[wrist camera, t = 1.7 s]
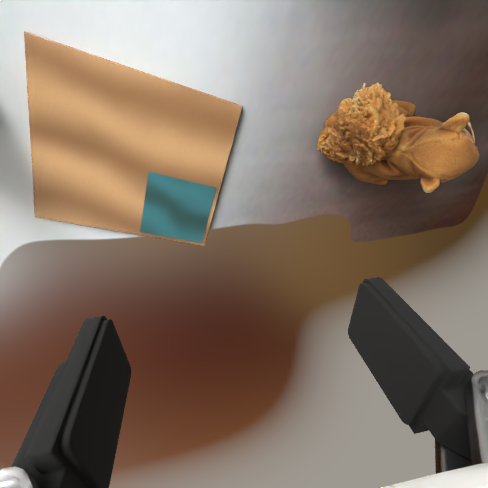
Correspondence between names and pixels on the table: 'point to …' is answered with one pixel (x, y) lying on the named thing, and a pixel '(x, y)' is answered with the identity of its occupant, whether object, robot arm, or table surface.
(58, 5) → the table surface
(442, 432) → the robot arm
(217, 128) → the desk mat
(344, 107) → the stuffed squirrel
